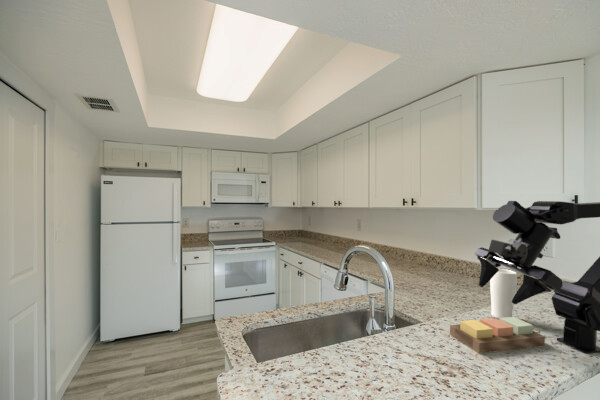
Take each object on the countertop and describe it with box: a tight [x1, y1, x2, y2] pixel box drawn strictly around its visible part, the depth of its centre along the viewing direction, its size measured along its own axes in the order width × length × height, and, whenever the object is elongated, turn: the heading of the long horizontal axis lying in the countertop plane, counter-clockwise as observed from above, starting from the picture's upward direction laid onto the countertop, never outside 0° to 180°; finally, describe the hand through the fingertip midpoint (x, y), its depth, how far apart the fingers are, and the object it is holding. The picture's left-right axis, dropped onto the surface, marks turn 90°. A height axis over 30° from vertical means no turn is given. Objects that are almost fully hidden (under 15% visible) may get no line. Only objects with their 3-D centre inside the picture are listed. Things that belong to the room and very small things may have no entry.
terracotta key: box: [479, 317, 513, 337], centre depth 70 cm, size 5×5×3 cm
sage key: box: [499, 316, 534, 335], centre depth 72 cm, size 5×5×3 cm
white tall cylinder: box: [489, 267, 518, 320], centre depth 84 cm, size 7×7×15 cm
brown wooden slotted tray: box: [449, 324, 546, 354], centre depth 70 cm, size 21×9×2 cm, turn 103°
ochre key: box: [460, 319, 493, 339], centre depth 69 cm, size 5×5×3 cm
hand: (495, 294), depth 68 cm, fingers open, 9 cm apart
